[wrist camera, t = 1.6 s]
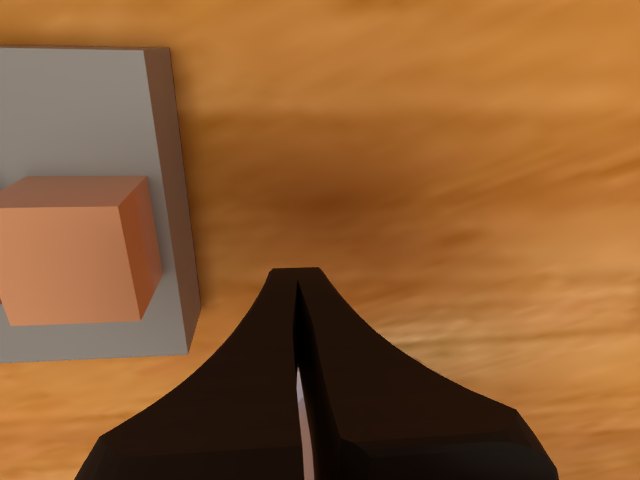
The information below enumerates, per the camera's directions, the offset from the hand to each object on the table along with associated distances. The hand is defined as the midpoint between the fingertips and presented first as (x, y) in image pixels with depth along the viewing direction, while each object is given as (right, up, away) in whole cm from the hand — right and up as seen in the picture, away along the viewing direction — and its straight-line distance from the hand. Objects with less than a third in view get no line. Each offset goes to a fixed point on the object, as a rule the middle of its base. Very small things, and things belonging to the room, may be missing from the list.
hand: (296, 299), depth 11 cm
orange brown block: (-7, +2, +4) cm, 9 cm away
